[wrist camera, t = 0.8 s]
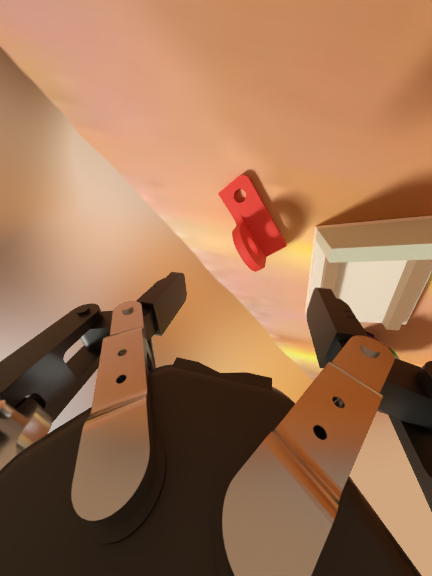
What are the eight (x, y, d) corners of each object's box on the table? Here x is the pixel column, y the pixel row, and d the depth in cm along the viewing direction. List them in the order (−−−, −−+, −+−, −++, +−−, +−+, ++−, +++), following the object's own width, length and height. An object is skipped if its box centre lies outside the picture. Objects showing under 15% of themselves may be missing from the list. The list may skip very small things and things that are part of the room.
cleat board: (449, 213, 21) (550, 237, 13) (400, 318, 29) (445, 370, 21) (315, 226, 25) (331, 248, 18) (305, 313, 33) (313, 355, 26)
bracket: (286, 243, 28) (288, 264, 21) (260, 257, 30) (255, 279, 24) (245, 171, 24) (234, 170, 18) (220, 192, 27) (202, 199, 20)
